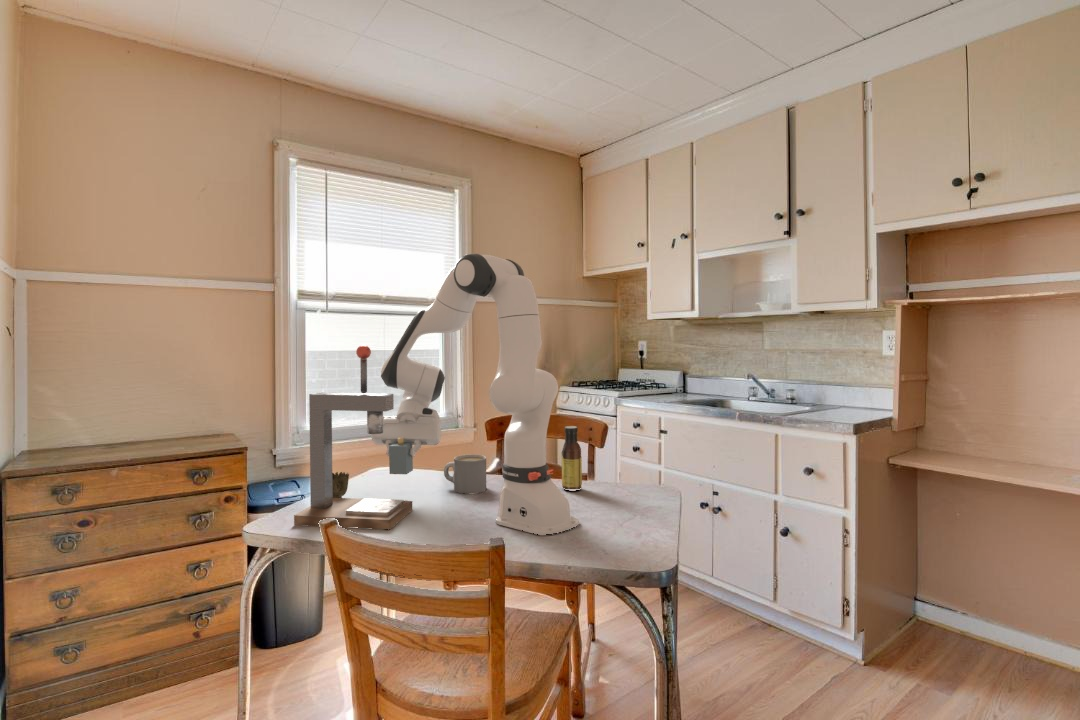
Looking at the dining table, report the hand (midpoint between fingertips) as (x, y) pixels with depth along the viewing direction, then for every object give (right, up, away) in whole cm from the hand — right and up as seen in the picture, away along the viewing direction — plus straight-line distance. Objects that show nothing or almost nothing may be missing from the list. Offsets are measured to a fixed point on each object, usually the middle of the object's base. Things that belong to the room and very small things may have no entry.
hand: (400, 455), depth 159 cm
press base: (-8, -14, -13) cm, 21 cm away
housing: (0, -5, +1) cm, 5 cm away
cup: (-19, -14, +1) cm, 23 cm away
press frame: (-9, -12, -13) cm, 19 cm away
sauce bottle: (+50, -13, +15) cm, 54 cm away
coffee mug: (+17, -13, +16) cm, 26 cm away
